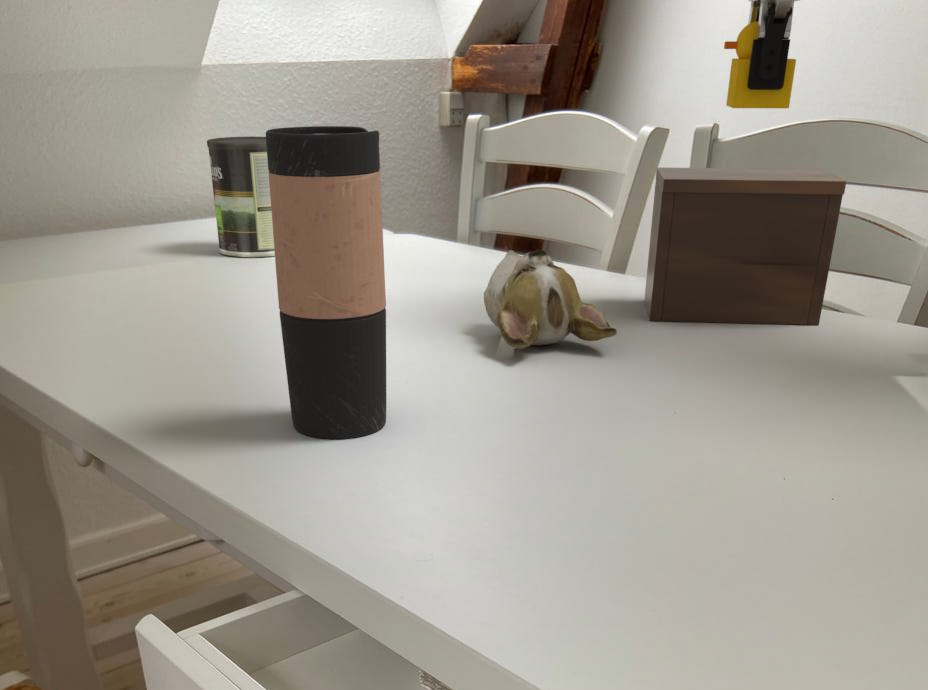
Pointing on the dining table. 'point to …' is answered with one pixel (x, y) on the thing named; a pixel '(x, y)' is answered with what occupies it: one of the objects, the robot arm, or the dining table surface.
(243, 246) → the coffee can
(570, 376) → the dining table surface
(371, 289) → the travel mug
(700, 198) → the wooden nightstand cabinet
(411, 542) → the dining table surface
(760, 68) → the robot arm
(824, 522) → the dining table surface
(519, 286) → the ceramic sculpture
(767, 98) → the duck
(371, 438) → the dining table surface
